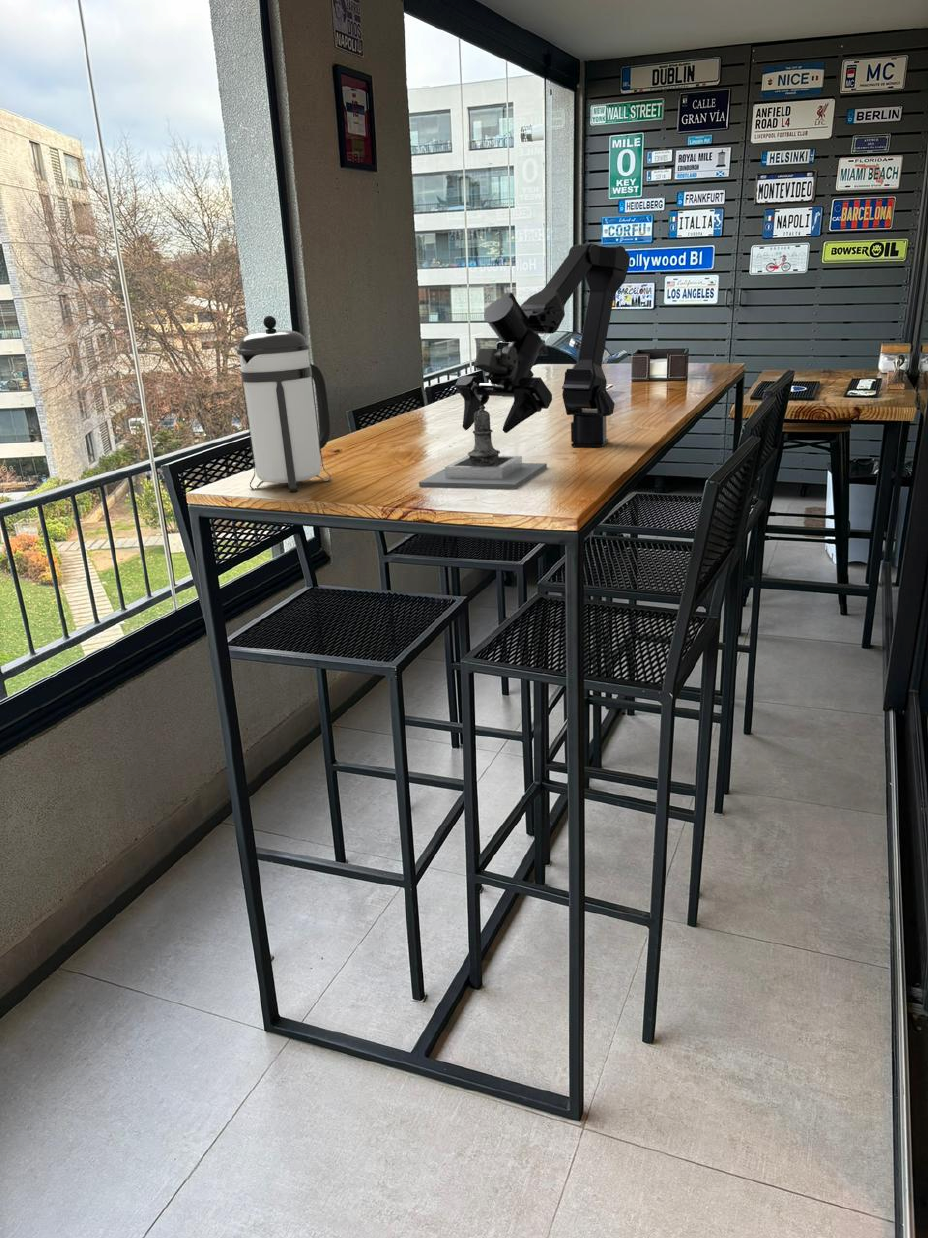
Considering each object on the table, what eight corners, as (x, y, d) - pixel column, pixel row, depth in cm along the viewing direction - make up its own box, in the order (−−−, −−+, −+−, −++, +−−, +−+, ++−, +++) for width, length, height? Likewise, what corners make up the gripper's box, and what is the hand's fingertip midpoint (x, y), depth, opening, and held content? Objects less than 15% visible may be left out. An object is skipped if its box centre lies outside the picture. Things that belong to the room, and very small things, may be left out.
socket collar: (522, 466, 167) (521, 456, 166) (502, 479, 158) (501, 467, 157) (468, 465, 171) (467, 455, 170) (445, 478, 162) (444, 466, 161)
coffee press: (338, 488, 163) (318, 313, 153) (248, 497, 161) (221, 319, 151) (335, 470, 179) (317, 311, 169) (253, 478, 177) (229, 317, 167)
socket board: (546, 467, 169) (546, 463, 169) (515, 488, 154) (515, 484, 153) (458, 466, 176) (457, 462, 176) (419, 486, 160) (418, 481, 160)
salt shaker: (505, 473, 163) (502, 405, 159) (474, 476, 161) (470, 408, 157) (494, 467, 168) (491, 401, 164) (464, 471, 167) (460, 404, 162)
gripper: (457, 330, 166) (421, 400, 162) (540, 328, 154) (504, 404, 150) (486, 369, 174) (453, 437, 170) (567, 371, 163) (533, 443, 159)
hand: (484, 430), depth 162 cm, fingers open, 9 cm apart
